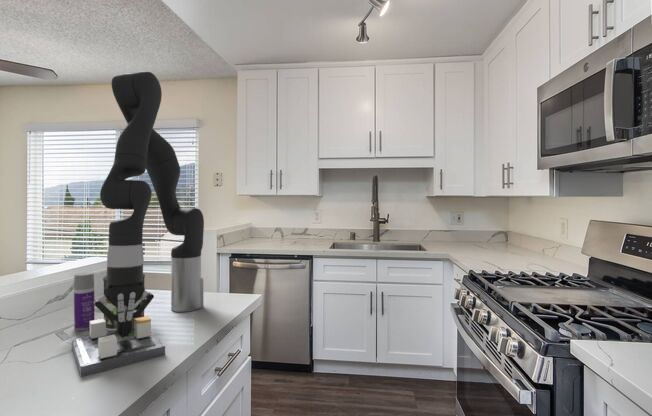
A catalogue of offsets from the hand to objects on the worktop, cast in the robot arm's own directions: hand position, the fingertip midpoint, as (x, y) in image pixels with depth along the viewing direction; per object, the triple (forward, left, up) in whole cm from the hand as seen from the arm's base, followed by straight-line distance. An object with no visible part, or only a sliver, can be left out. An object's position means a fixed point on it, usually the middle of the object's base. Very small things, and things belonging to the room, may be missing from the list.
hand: (124, 335), depth 84 cm
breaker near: (+4, +7, -1) cm, 8 cm away
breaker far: (+4, -7, -1) cm, 8 cm away
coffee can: (-4, -18, -3) cm, 19 cm away
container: (+5, -23, -3) cm, 24 cm away
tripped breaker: (-4, 0, -1) cm, 4 cm away
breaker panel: (+1, 0, -3) cm, 3 cm away
